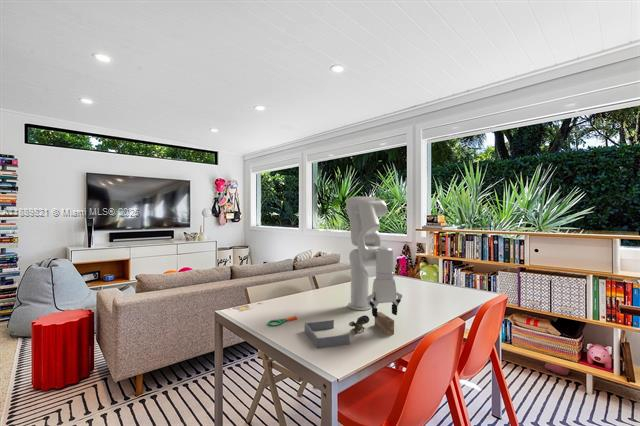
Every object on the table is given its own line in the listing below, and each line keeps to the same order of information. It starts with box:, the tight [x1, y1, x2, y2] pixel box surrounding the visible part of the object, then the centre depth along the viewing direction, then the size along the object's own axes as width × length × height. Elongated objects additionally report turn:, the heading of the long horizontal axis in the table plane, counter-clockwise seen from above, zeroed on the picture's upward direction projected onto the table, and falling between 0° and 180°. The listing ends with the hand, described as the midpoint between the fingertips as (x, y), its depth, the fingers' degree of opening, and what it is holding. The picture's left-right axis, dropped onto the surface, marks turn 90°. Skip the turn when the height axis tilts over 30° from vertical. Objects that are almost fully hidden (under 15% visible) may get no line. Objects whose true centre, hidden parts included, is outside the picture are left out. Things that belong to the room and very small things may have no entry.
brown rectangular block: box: [374, 311, 395, 336], centre depth 137 cm, size 3×12×6 cm, turn 17°
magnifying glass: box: [267, 315, 298, 327], centre depth 145 cm, size 15×6×2 cm, turn 128°
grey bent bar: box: [304, 319, 350, 349], centre depth 128 cm, size 13×18×4 cm
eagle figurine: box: [348, 314, 370, 335], centre depth 135 cm, size 8×7×9 cm
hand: (384, 315), depth 136 cm, fingers open, 9 cm apart
